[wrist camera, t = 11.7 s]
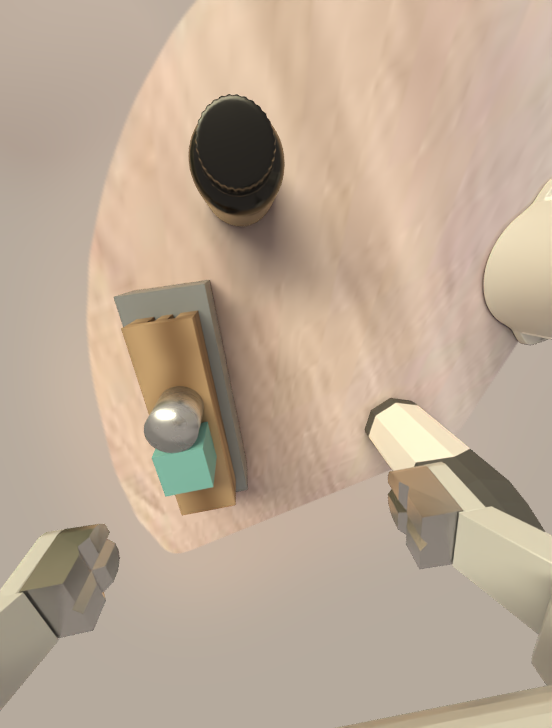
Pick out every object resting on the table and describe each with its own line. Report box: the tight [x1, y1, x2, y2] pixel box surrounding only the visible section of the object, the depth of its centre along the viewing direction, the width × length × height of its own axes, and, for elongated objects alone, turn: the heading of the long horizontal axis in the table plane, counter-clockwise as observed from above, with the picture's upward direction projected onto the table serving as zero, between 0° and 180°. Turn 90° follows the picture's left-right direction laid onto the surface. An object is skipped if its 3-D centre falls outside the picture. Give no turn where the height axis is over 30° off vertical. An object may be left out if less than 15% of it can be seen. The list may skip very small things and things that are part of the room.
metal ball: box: [144, 386, 204, 453], centre depth 24 cm, size 4×4×4 cm
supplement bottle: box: [189, 94, 284, 226], centre depth 23 cm, size 7×7×12 cm
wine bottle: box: [365, 398, 545, 532], centre depth 26 cm, size 8×8×30 cm
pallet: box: [121, 310, 236, 515], centre depth 29 cm, size 6×20×4 cm, turn 8°
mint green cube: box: [152, 422, 217, 496], centre depth 26 cm, size 4×4×4 cm
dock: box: [114, 280, 248, 492], centre depth 33 cm, size 8×24×5 cm, turn 8°
